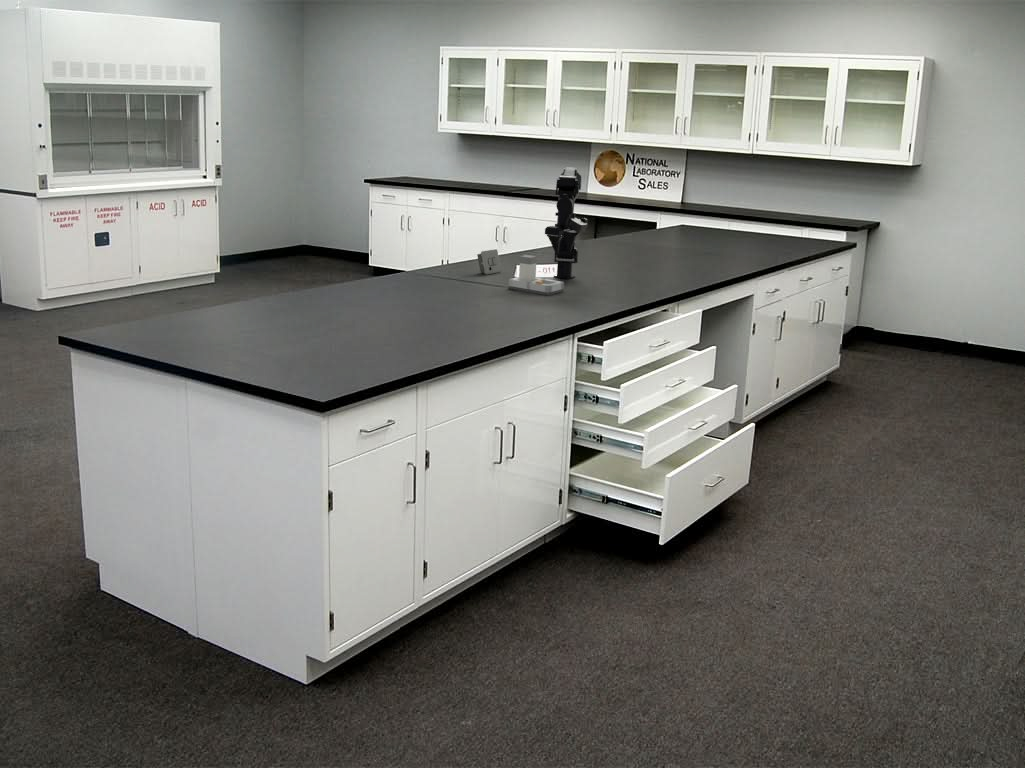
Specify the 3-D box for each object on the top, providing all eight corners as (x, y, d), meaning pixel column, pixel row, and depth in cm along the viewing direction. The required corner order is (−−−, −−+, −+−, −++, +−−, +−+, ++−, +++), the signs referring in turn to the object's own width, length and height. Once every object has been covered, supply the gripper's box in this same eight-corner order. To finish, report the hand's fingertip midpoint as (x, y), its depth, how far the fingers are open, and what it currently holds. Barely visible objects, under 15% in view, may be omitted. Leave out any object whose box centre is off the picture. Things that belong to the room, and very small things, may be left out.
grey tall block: (524, 284, 379) (526, 254, 376) (535, 285, 377) (536, 256, 374) (518, 285, 375) (520, 256, 372) (529, 287, 373) (530, 257, 370)
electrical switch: (486, 275, 400) (485, 251, 398) (476, 274, 403) (475, 251, 401) (501, 272, 407) (500, 249, 405) (491, 271, 410) (490, 248, 408)
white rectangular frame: (524, 284, 383) (524, 273, 382) (563, 291, 374) (564, 279, 373) (508, 288, 375) (508, 277, 374) (548, 295, 366) (549, 283, 364)
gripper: (571, 214, 363) (568, 257, 368) (596, 210, 378) (594, 252, 383) (545, 211, 369) (542, 253, 374) (571, 207, 384) (569, 248, 389)
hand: (563, 252), depth 379 cm, fingers open, 9 cm apart
